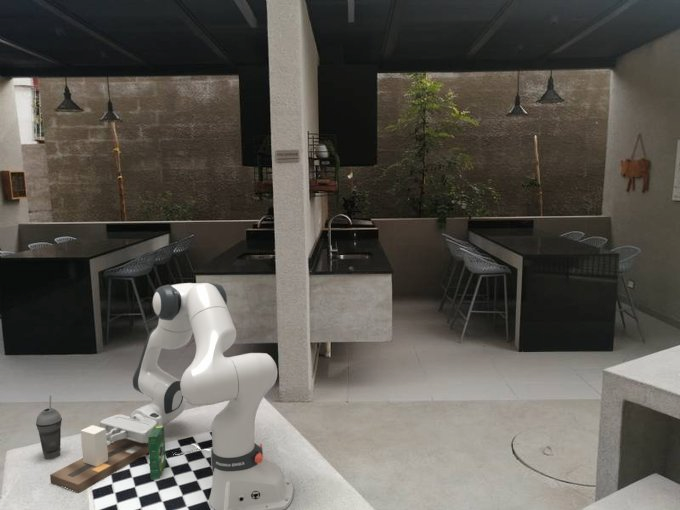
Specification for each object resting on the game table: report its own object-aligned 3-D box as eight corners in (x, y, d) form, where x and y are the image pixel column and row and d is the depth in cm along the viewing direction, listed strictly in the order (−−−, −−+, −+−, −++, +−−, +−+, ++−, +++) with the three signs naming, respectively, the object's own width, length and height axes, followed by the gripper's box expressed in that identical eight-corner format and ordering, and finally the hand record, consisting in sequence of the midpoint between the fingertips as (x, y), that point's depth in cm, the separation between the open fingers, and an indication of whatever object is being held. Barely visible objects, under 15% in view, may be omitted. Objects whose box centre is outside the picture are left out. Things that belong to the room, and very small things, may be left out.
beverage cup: (47, 450, 173) (42, 391, 171) (69, 450, 173) (64, 391, 170) (34, 461, 166) (28, 400, 164) (56, 461, 166) (51, 400, 163)
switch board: (124, 443, 177) (123, 436, 176) (150, 451, 171) (150, 443, 171) (50, 482, 154) (50, 474, 153) (78, 493, 148) (77, 484, 148)
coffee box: (157, 465, 162) (154, 424, 161) (166, 465, 162) (164, 424, 161) (149, 480, 154) (146, 436, 153) (160, 479, 154) (157, 436, 153)
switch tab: (94, 456, 163) (92, 425, 162) (108, 460, 160) (105, 428, 159) (83, 462, 160) (80, 430, 158) (96, 466, 157) (94, 434, 156)
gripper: (120, 406, 180) (84, 422, 168) (165, 417, 171) (130, 435, 159) (121, 424, 181) (85, 441, 169) (166, 436, 172) (132, 455, 160)
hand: (108, 438), depth 164 cm, fingers closed
